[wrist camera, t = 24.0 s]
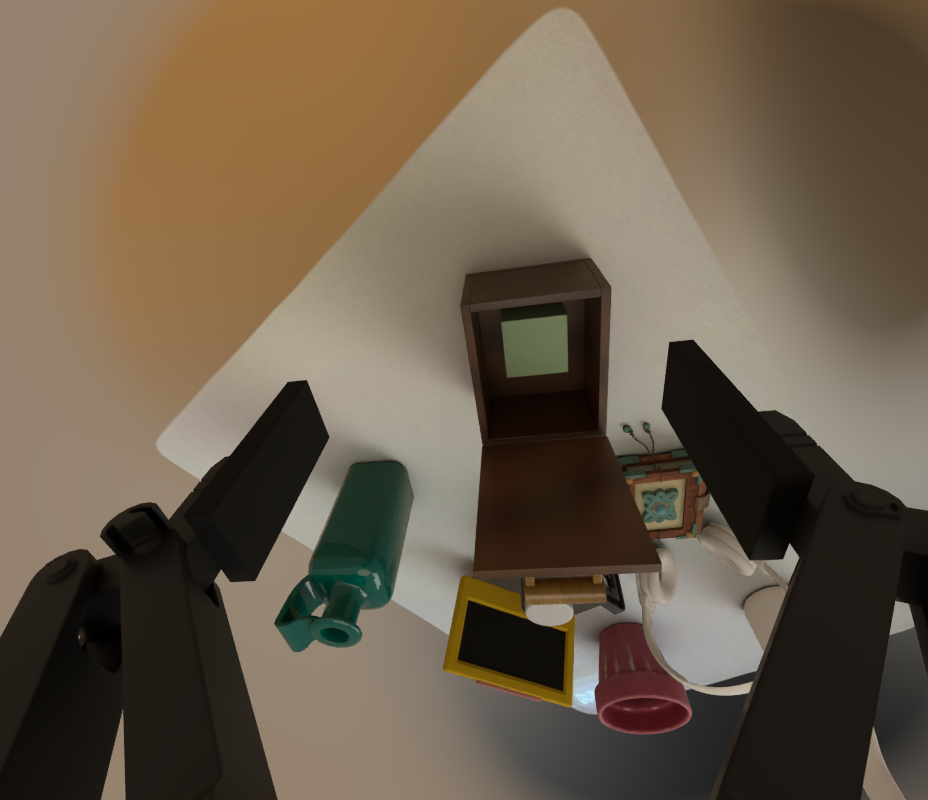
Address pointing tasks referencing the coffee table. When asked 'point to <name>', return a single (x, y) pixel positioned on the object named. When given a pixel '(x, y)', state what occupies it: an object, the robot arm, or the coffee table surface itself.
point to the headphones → (664, 585)
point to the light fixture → (574, 605)
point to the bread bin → (547, 395)
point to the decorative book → (666, 492)
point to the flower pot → (636, 685)
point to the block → (535, 339)
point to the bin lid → (558, 520)
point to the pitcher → (351, 558)
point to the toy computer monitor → (509, 643)
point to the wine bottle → (877, 776)
